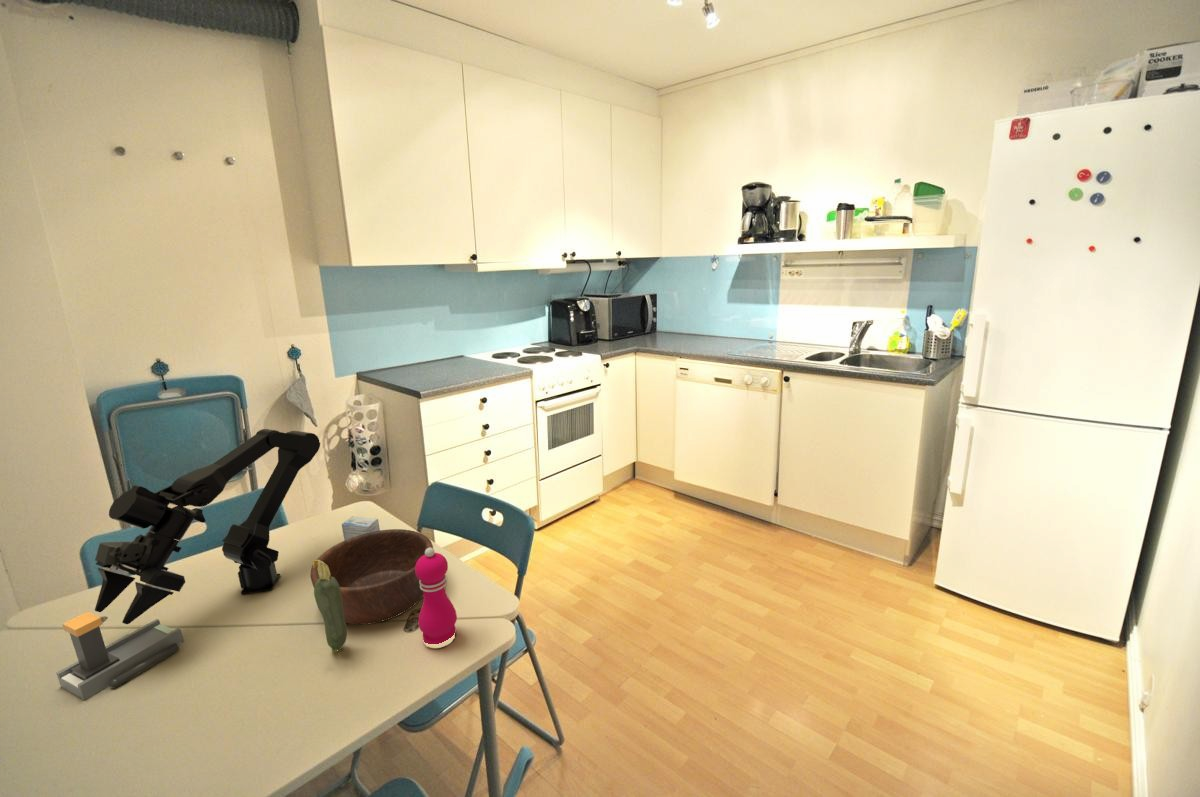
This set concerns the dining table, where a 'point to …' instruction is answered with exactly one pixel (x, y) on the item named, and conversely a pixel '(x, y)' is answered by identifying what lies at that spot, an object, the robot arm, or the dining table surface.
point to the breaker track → (126, 659)
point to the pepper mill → (435, 598)
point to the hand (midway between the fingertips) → (111, 617)
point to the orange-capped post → (88, 645)
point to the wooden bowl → (376, 573)
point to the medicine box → (359, 526)
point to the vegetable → (330, 606)
